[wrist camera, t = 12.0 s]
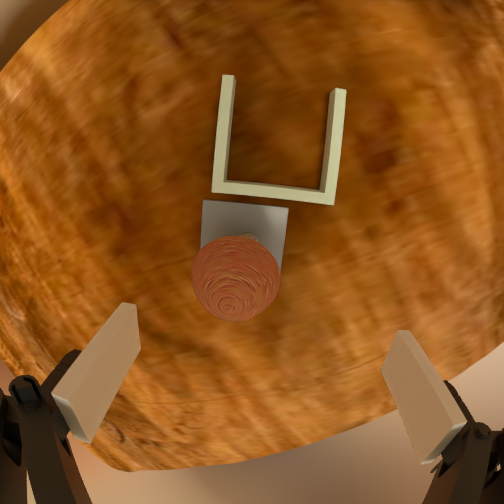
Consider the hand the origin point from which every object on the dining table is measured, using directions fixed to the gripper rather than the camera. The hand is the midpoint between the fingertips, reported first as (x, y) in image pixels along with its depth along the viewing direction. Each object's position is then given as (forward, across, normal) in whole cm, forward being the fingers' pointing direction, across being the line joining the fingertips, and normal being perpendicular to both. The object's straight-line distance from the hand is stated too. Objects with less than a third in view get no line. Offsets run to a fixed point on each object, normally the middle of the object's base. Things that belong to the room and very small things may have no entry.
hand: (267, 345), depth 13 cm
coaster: (+23, -3, -2) cm, 23 cm away
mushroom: (+22, -2, -2) cm, 23 cm away
